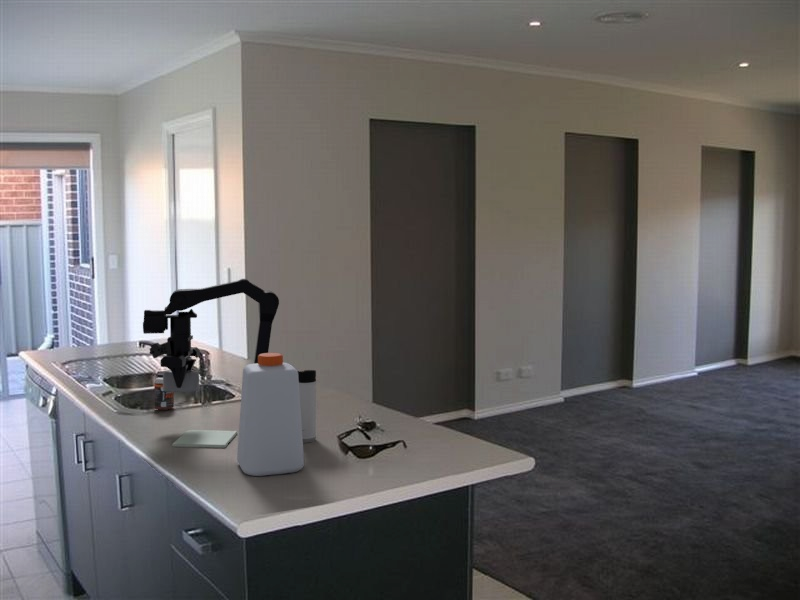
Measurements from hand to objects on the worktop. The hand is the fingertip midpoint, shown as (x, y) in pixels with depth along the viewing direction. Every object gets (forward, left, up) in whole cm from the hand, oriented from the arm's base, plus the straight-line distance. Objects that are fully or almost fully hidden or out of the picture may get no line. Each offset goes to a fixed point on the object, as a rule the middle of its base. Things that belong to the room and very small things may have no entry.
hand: (181, 385), depth 228 cm
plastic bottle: (-33, +36, -12) cm, 50 cm away
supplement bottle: (+12, -21, -12) cm, 27 cm away
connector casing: (0, 0, -1) cm, 1 cm away
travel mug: (-38, +12, -12) cm, 42 cm away
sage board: (-11, +14, -12) cm, 21 cm away
